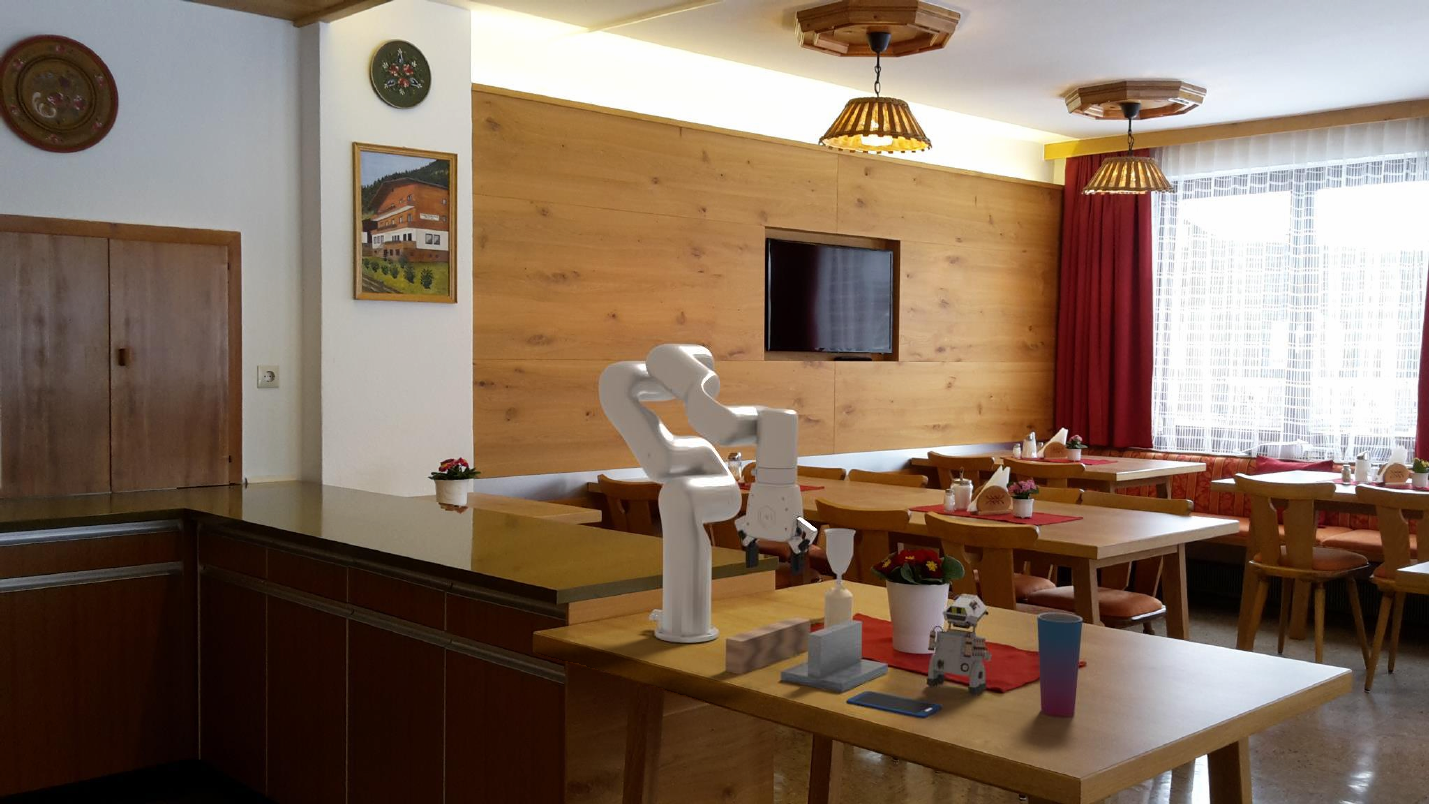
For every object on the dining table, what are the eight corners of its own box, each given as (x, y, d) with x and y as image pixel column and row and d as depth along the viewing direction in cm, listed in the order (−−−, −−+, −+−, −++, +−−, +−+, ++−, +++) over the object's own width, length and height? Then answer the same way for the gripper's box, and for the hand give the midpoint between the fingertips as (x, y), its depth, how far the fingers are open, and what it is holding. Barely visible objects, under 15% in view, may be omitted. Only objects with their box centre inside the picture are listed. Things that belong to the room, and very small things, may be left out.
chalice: (856, 617, 249) (857, 533, 248) (824, 617, 249) (825, 533, 248) (852, 610, 256) (853, 528, 256) (821, 609, 256) (822, 528, 256)
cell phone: (923, 721, 179) (924, 716, 179) (844, 704, 187) (844, 700, 187) (944, 710, 185) (944, 705, 185) (866, 694, 193) (866, 690, 193)
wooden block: (741, 675, 203) (741, 641, 203) (725, 672, 205) (725, 638, 205) (810, 651, 221) (810, 619, 220) (794, 648, 223) (795, 617, 223)
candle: (850, 641, 228) (851, 590, 227) (822, 640, 229) (823, 589, 228) (853, 635, 233) (854, 585, 233) (825, 633, 234) (826, 584, 234)
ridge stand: (780, 680, 200) (781, 630, 199) (828, 661, 213) (829, 615, 212) (841, 692, 193) (842, 641, 192) (887, 672, 205) (888, 624, 205)
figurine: (1002, 684, 199) (1004, 597, 198) (969, 699, 190) (971, 607, 189) (954, 674, 204) (955, 589, 204) (920, 688, 196) (922, 599, 195)
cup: (1028, 705, 186) (1030, 612, 186) (1070, 705, 187) (1072, 612, 186) (1044, 719, 180) (1046, 622, 179) (1087, 718, 180) (1089, 621, 180)
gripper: (725, 474, 214) (723, 567, 214) (805, 482, 203) (803, 580, 204) (749, 471, 220) (746, 561, 220) (828, 479, 209) (825, 574, 210)
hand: (774, 570), depth 212 cm, fingers open, 9 cm apart
